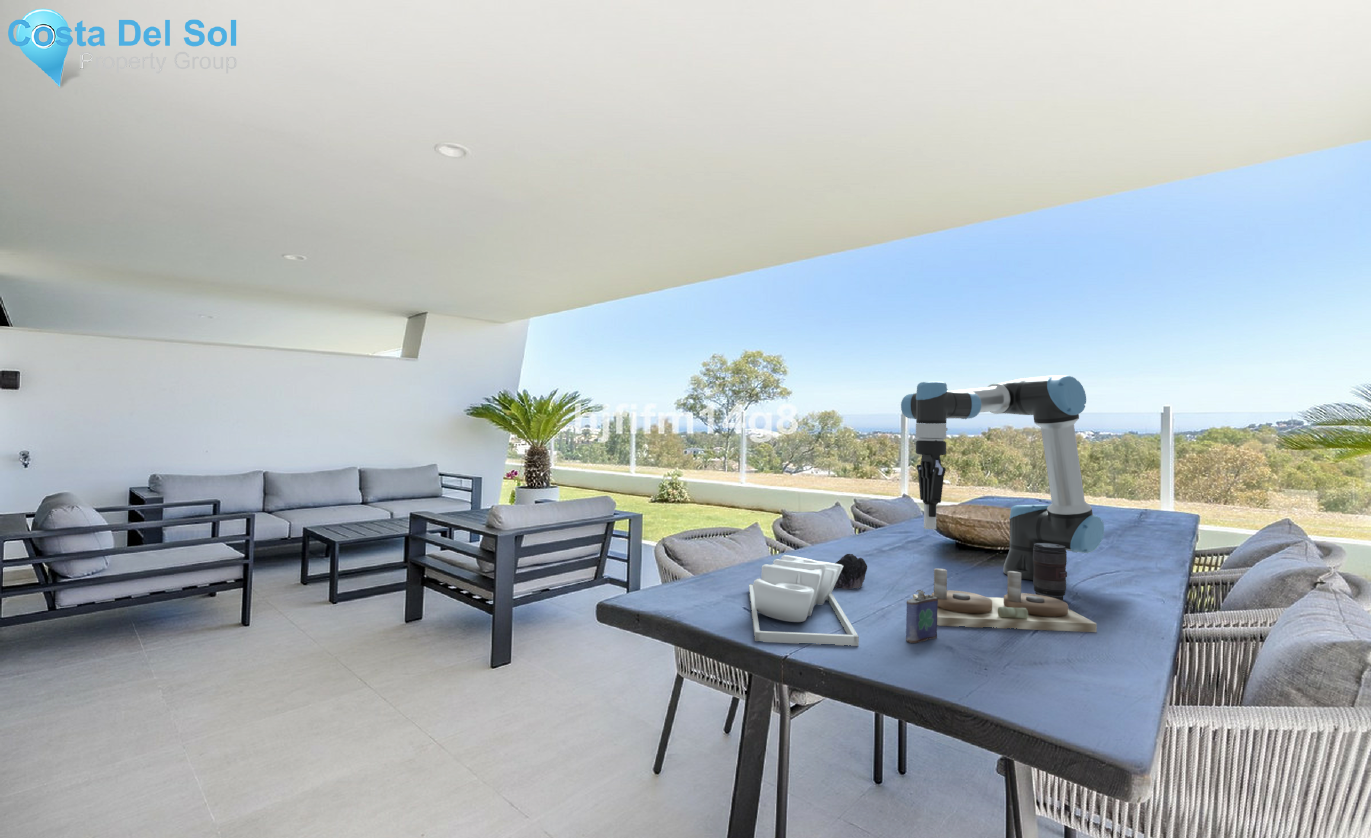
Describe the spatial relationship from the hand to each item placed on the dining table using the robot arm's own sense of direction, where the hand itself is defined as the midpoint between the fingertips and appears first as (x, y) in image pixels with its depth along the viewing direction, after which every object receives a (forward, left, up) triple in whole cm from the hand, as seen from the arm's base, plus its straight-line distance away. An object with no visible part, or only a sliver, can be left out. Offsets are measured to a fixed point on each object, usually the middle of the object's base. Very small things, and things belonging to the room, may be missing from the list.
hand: (930, 528), depth 161 cm
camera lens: (-37, -12, -21) cm, 44 cm away
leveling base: (-15, +7, -20) cm, 26 cm away
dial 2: (-24, +7, -18) cm, 31 cm away
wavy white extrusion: (+36, +8, -20) cm, 41 cm away
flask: (+10, +27, -21) cm, 35 cm away
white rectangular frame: (+36, +13, -20) cm, 44 cm away
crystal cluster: (+19, -20, -21) cm, 34 cm away
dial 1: (-6, +7, -18) cm, 20 cm away
